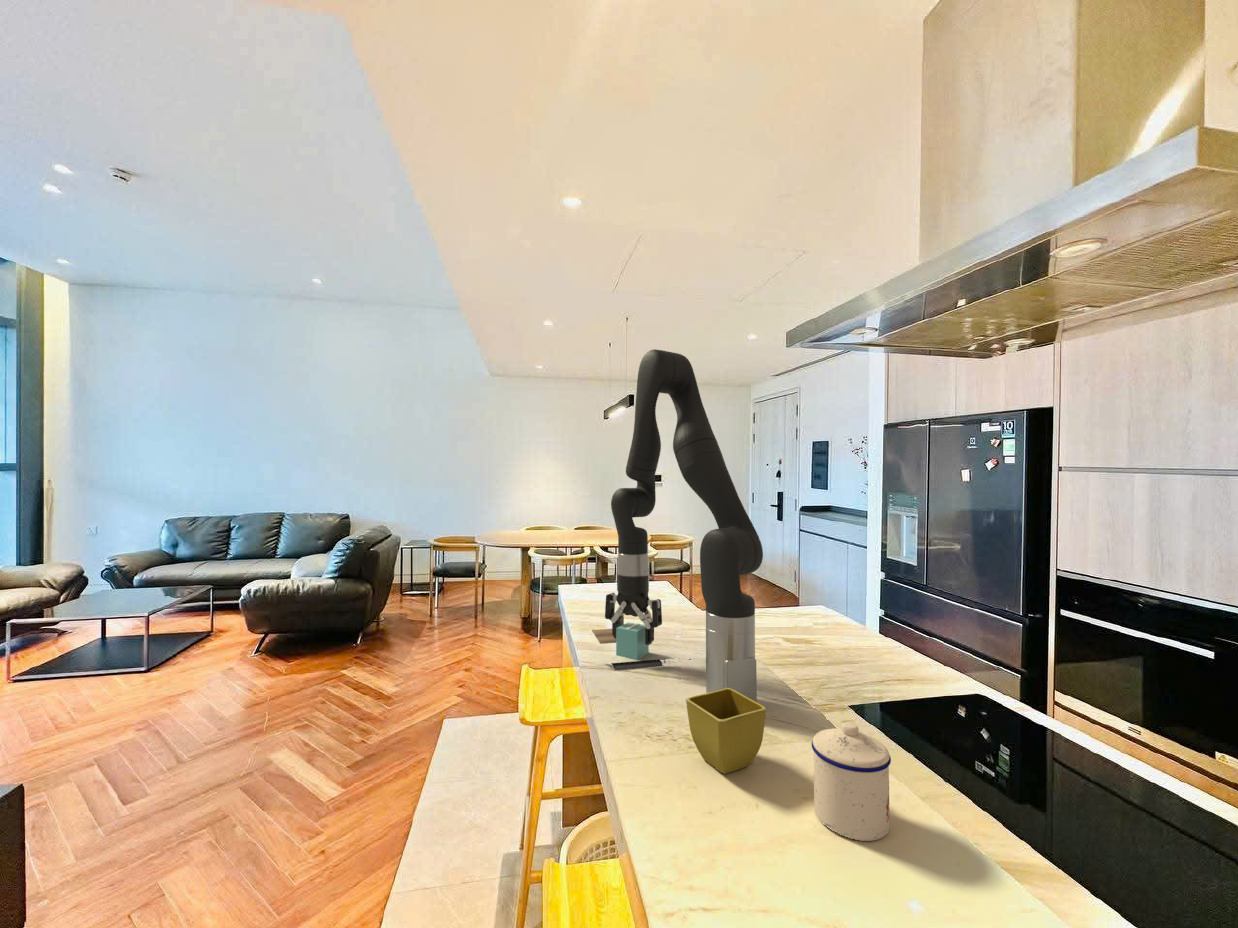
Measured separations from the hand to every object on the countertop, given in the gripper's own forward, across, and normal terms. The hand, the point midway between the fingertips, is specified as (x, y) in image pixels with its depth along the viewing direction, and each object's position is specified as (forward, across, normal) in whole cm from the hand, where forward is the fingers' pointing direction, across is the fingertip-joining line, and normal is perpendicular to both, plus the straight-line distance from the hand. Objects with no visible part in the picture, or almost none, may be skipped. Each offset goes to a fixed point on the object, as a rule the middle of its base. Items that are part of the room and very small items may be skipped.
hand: (632, 640), depth 122 cm
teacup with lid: (+5, +51, -34) cm, 61 cm away
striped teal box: (+4, 0, 0) cm, 4 cm away
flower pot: (+5, +34, -31) cm, 46 cm away
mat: (+4, 0, 0) cm, 4 cm away
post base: (+4, -11, +11) cm, 16 cm away
